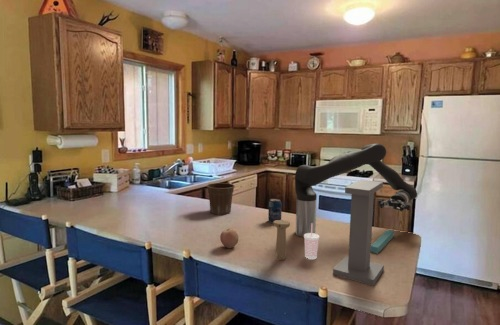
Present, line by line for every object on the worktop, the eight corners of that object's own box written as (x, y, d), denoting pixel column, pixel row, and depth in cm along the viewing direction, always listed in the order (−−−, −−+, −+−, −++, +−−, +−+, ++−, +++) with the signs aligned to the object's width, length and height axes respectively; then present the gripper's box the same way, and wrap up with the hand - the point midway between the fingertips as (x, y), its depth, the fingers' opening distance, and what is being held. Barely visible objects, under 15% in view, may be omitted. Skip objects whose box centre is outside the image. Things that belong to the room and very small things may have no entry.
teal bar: (377, 254, 137) (377, 247, 136) (370, 252, 139) (370, 245, 138) (393, 236, 157) (394, 230, 157) (387, 235, 159) (387, 229, 159)
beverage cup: (300, 257, 132) (301, 223, 130) (306, 252, 137) (307, 220, 135) (315, 261, 129) (316, 226, 127) (320, 256, 134) (322, 222, 132)
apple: (229, 242, 148) (229, 225, 147) (242, 246, 143) (242, 228, 142) (216, 247, 142) (216, 229, 141) (229, 252, 137) (229, 233, 136)
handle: (275, 255, 134) (275, 219, 132) (290, 257, 132) (291, 221, 130) (271, 259, 130) (271, 222, 128) (286, 262, 127) (287, 225, 125)
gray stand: (373, 285, 110) (378, 191, 106) (332, 274, 118) (336, 186, 114) (386, 266, 125) (391, 183, 121) (349, 257, 133) (353, 178, 129)
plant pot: (233, 208, 205) (233, 182, 203) (235, 215, 189) (235, 187, 187) (207, 208, 203) (206, 182, 201) (207, 216, 187) (206, 188, 185)
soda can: (270, 224, 174) (271, 201, 173) (266, 220, 181) (267, 198, 179) (283, 223, 176) (283, 201, 175) (278, 219, 183) (279, 197, 181)
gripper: (384, 191, 170) (375, 197, 157) (415, 195, 162) (407, 202, 149) (383, 205, 171) (374, 212, 158) (414, 210, 163) (407, 218, 150)
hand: (390, 207), depth 154 cm, fingers open, 8 cm apart
